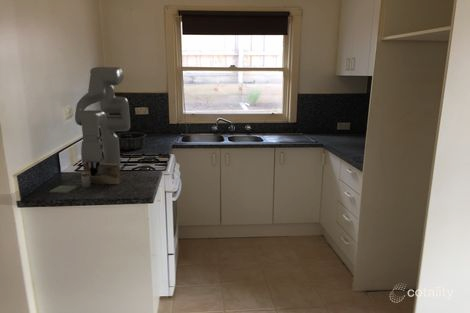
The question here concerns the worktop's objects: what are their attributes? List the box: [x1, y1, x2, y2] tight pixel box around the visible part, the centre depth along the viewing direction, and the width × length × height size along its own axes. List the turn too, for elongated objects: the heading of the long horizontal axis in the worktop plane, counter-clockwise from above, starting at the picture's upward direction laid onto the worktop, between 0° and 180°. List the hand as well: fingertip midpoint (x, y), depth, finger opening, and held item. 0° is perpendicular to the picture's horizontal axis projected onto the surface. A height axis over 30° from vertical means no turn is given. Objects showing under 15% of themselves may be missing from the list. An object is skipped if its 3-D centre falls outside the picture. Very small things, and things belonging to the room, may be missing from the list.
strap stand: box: [82, 163, 121, 185], centre depth 189 cm, size 3×18×10 cm, turn 83°
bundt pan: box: [115, 132, 147, 151], centre depth 279 cm, size 26×26×10 cm
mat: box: [49, 185, 78, 194], centre depth 178 cm, size 9×9×1 cm
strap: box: [96, 168, 111, 176], centre depth 181 cm, size 11×2×1 cm, turn 173°
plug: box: [80, 171, 92, 188], centre depth 183 cm, size 4×4×7 cm
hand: (94, 175), depth 178 cm, fingers closed
